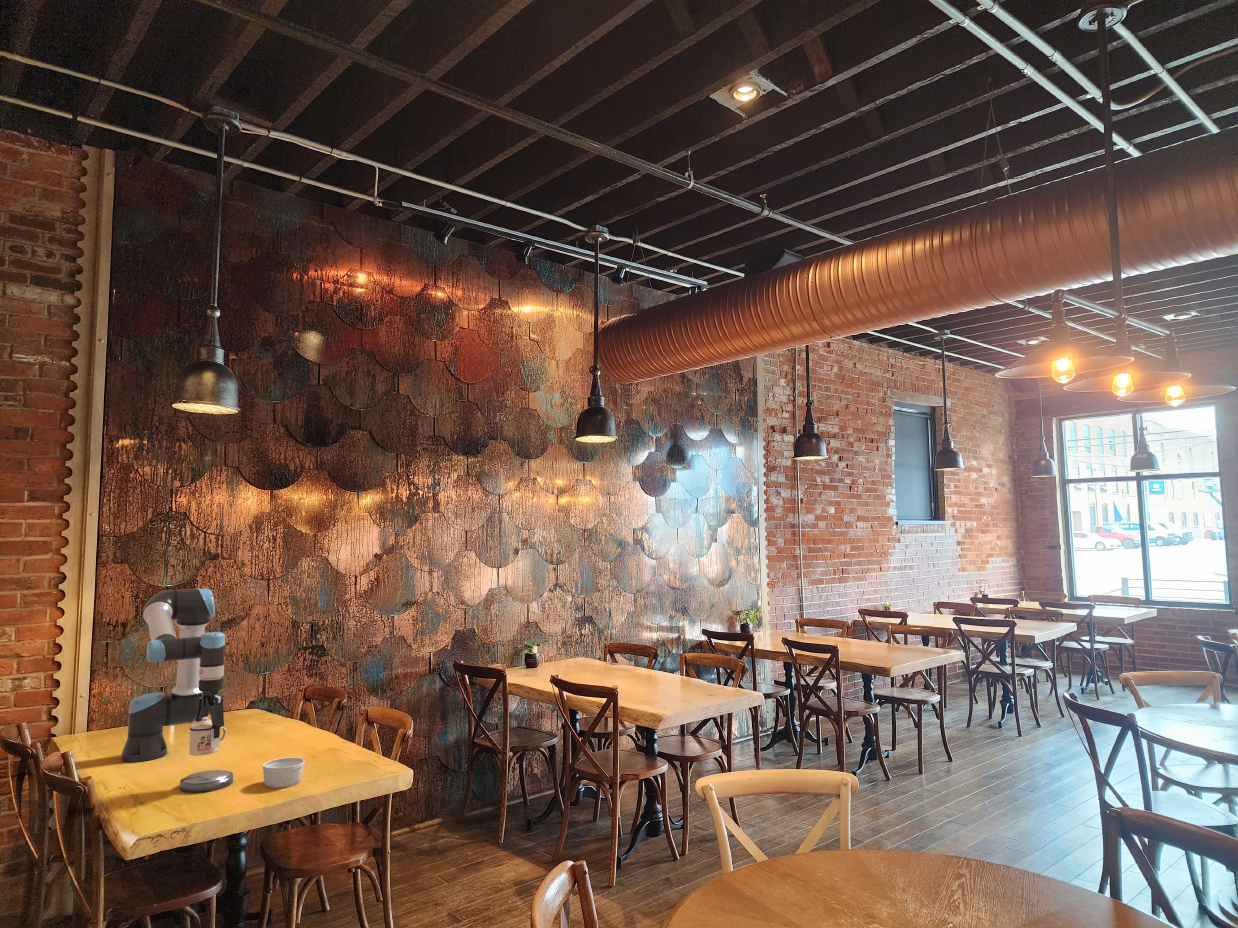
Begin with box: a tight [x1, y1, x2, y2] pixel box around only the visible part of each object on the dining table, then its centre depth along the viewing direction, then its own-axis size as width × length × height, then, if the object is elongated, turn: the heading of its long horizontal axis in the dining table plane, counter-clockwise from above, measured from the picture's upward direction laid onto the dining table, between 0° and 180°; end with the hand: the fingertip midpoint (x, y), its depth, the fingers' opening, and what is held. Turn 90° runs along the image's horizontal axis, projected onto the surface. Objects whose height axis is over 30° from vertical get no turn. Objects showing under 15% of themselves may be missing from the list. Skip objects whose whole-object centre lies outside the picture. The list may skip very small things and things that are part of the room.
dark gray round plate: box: [179, 769, 234, 794], centre depth 257 cm, size 16×16×3 cm
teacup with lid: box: [188, 716, 228, 757], centre depth 258 cm, size 12×9×12 cm
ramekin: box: [262, 756, 306, 789], centre depth 259 cm, size 13×13×7 cm
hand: (208, 745), depth 258 cm, fingers closed on teacup with lid, 9 cm apart
